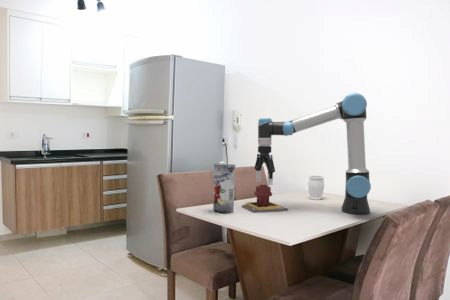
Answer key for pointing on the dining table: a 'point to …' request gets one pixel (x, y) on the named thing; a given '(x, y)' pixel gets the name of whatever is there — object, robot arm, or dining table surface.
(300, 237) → the dining table surface
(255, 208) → the deck plate
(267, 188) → the mechanical component
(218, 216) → the dining table surface
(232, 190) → the juice carton
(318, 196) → the jar
